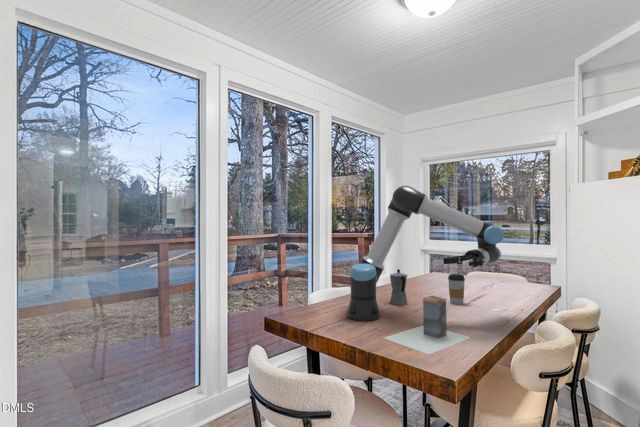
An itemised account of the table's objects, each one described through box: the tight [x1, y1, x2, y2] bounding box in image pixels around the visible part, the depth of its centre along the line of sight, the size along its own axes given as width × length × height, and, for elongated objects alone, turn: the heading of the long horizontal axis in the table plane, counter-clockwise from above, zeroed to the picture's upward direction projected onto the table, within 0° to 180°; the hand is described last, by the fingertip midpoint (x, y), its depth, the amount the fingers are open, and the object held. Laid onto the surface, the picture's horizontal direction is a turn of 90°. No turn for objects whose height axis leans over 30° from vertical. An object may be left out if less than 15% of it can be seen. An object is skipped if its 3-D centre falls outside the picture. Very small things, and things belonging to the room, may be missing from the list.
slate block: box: [422, 295, 448, 339], centre depth 131 cm, size 6×6×14 cm
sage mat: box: [383, 325, 472, 355], centre depth 127 cm, size 26×20×1 cm
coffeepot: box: [389, 269, 408, 306], centre depth 181 cm, size 15×9×18 cm, turn 6°
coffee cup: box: [447, 273, 466, 306], centre depth 180 cm, size 8×8×15 cm
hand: (447, 264), depth 139 cm, fingers open, 13 cm apart
